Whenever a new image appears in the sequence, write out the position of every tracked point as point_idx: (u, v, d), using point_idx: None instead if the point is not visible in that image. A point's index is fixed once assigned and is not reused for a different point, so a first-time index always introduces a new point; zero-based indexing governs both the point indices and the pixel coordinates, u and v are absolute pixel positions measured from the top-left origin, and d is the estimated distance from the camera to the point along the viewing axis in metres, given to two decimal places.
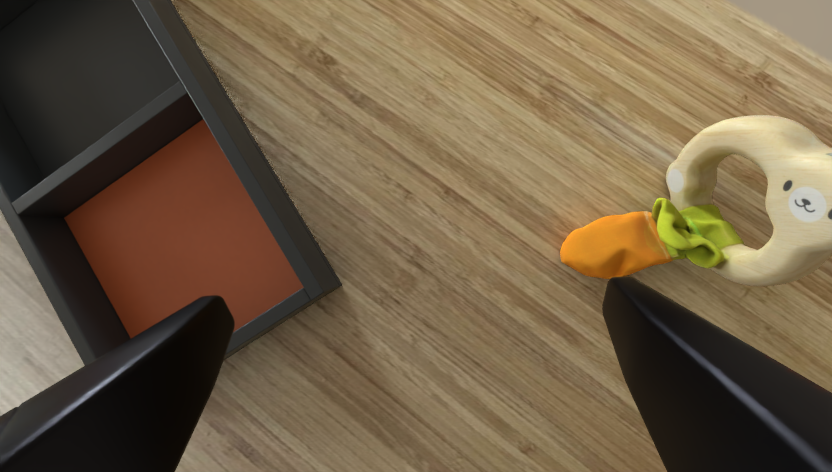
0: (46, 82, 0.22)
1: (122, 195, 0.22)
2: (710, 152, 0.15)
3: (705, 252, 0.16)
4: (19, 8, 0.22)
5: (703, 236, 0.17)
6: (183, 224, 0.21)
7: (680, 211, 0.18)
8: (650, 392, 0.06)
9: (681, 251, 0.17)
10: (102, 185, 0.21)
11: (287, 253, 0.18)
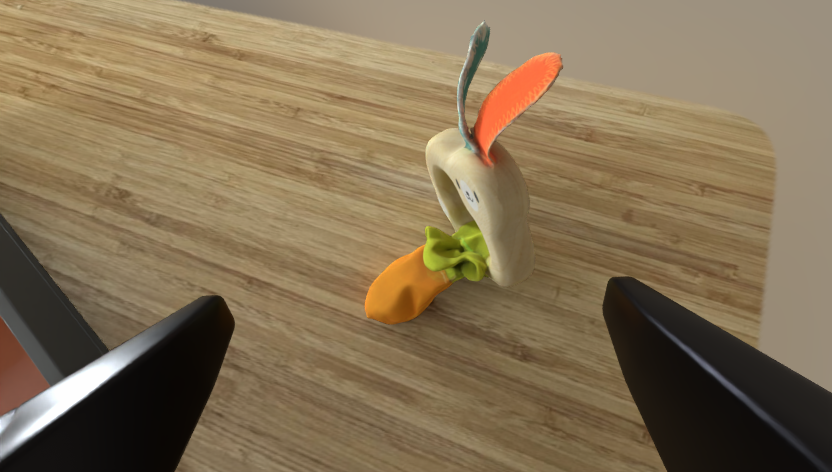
0: None
1: None
2: (436, 174, 0.16)
3: (474, 265, 0.16)
4: None
5: (474, 250, 0.17)
6: None
7: (456, 233, 0.18)
8: (650, 392, 0.06)
9: (459, 271, 0.17)
10: None
11: None
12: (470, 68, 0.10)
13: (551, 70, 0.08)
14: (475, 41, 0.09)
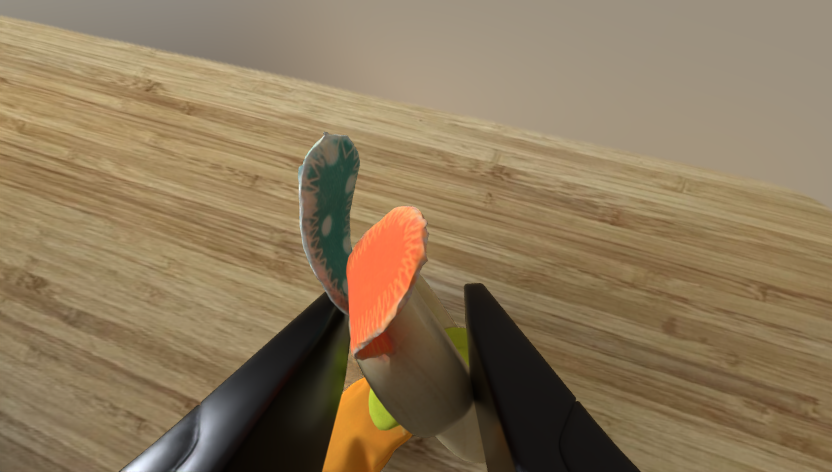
0: None
1: None
2: None
3: None
4: None
5: None
6: None
7: None
8: (476, 394, 0.07)
9: None
10: None
11: None
12: (317, 212, 0.06)
13: (414, 256, 0.04)
14: (305, 175, 0.05)
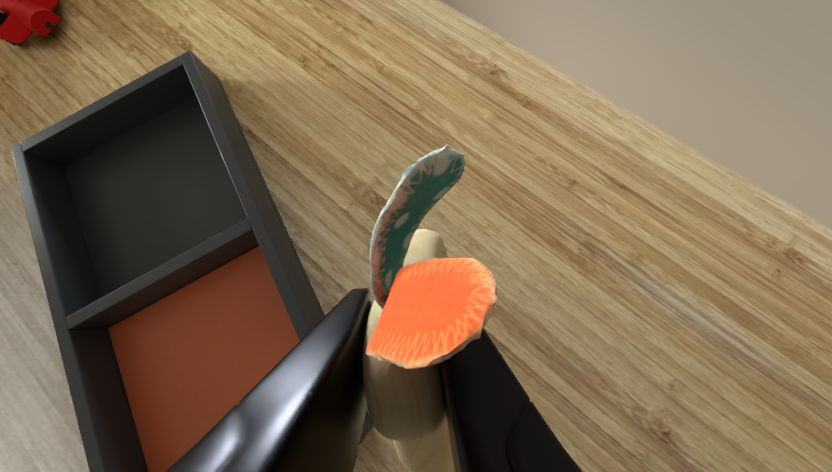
0: (121, 199, 0.25)
1: (169, 311, 0.22)
2: None
3: None
4: (113, 135, 0.25)
5: None
6: (222, 346, 0.21)
7: None
8: None
9: None
10: (152, 301, 0.22)
11: None
12: (401, 209, 0.06)
13: (468, 321, 0.04)
14: (409, 177, 0.05)
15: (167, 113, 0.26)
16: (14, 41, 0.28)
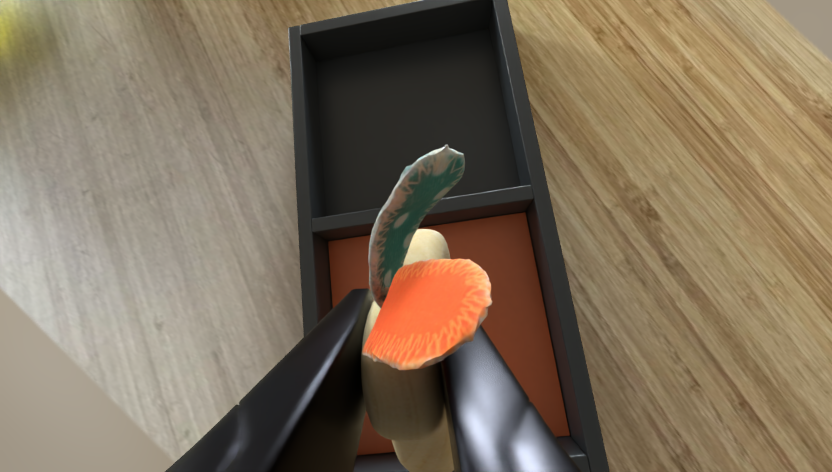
0: (368, 115, 0.23)
1: None
2: None
3: None
4: (377, 47, 0.24)
5: None
6: None
7: None
8: (443, 395, 0.07)
9: None
10: None
11: (583, 408, 0.16)
12: (400, 209, 0.06)
13: (463, 323, 0.04)
14: (408, 176, 0.05)
15: (437, 42, 0.24)
16: None
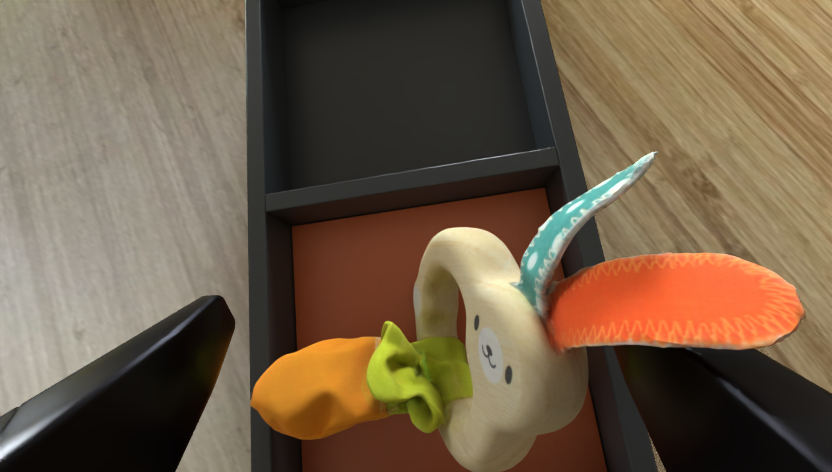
0: (345, 71, 0.19)
1: (377, 234, 0.16)
2: (434, 267, 0.12)
3: (427, 407, 0.11)
4: None
5: (433, 381, 0.12)
6: None
7: (418, 342, 0.13)
8: (649, 392, 0.06)
9: (404, 401, 0.12)
10: (361, 212, 0.16)
11: (636, 455, 0.11)
12: None
13: (772, 306, 0.05)
14: (640, 175, 0.06)
15: None
16: None
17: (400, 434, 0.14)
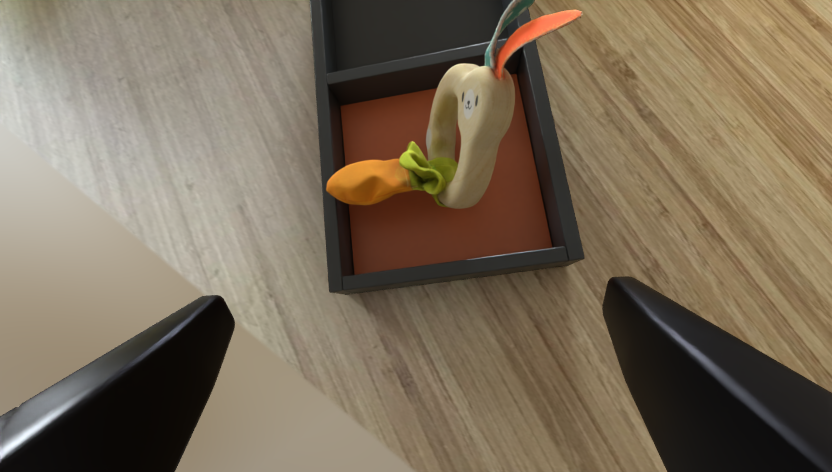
0: (376, 0, 0.26)
1: (400, 108, 0.24)
2: (440, 102, 0.19)
3: (436, 183, 0.19)
4: None
5: None
6: None
7: (429, 161, 0.21)
8: (650, 392, 0.06)
9: (421, 185, 0.19)
10: (390, 93, 0.24)
11: (563, 210, 0.19)
12: (518, 3, 0.13)
13: (572, 18, 0.12)
14: None
15: None
16: None
17: (417, 230, 0.22)
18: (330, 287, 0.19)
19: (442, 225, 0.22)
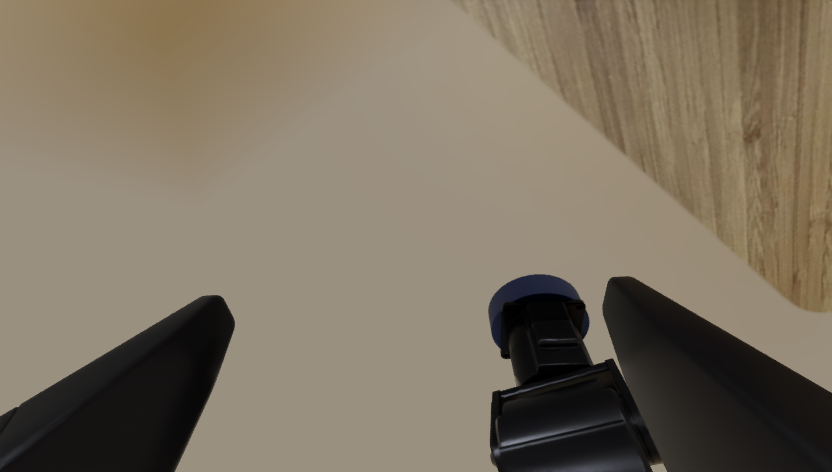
0: None
1: None
2: None
3: None
4: None
5: None
6: None
7: None
8: (650, 392, 0.06)
9: None
10: None
11: None
12: None
13: None
14: None
15: None
16: None
17: None
18: None
19: None
